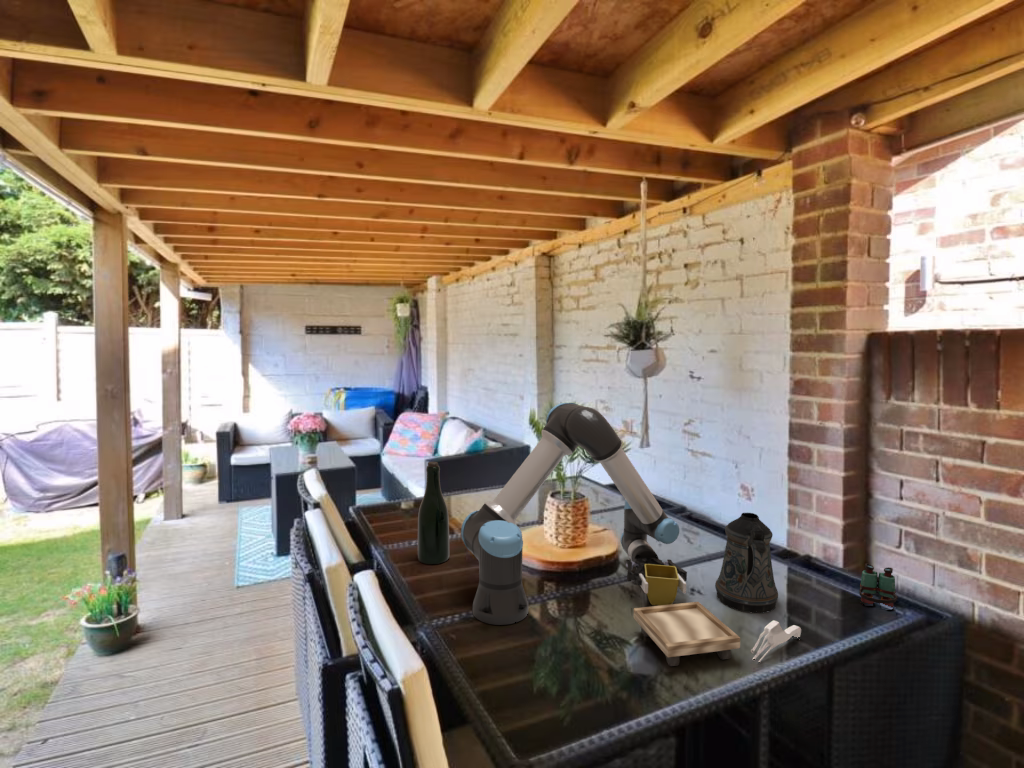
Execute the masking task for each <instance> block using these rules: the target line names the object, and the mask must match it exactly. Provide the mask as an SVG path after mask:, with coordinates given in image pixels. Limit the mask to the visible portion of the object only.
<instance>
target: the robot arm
mask: <svg viewBox="0 0 1024 768" xmlns="http://www.w3.org/2000/svg"><path fill="white" fill-rule="evenodd" d="M546 415H547V416H546V419H545V425H544V427H543V428H542V430H541V436H542V437H541V438H540V440H539V442H538V443H537V444H536V445H535V446H534V448H533V449H532V451H530V453H529V454H528V456H527V457H526V458H525V459H524V461H523V462H522V463H521V465H520V466H519V467H518V468H517V469H516V471H515V472H514V473H513V475H512V476H511V477H510V478H509V480H508V481H507V482H506V483H505V485H504V486H503V487H502V489H501V490H500V492H499V493H497V495H496V497H495V498H494V499H493V500H492V501H486V502H484V504H482V506H481V508H480V509H478V510H474V511H472V512H470V513H469V514H468V515H467V516H465V518H464V520H463V522H462V525H461V528H460V532H461V533H460V535H461V539H462V541H463V543H464V546H465V547H466V549H467V550H468V551H470V552H471V554H472V555H474V556H473V557H475V558H476V560H478V570H479V571H478V575H479V576H478V578H479V581H478V586H477V589H476V593H475V595H474V598H473V602H472V614H473V616H474V618H475V619H477V620H478V621H480V622H482V623H484V624H489V625H494V626H495V625H496V626H500V625H501V626H503V625H504V626H505V625H513V624H515V622H516V623H518V622H521V621H523V620H524V619H525V618H526V617H527V616H528V615H527V614H529V601H528V598H527V595H526V591H525V589H524V584H523V546H524V540H523V539H524V538H523V534H522V530H521V529H520V527H519V526H518V525H517V522H516V521H517V518H518V517H519V516H520V514H521V513H522V512H523V510H525V508H526V506H527V505H528V504H529V503H530V501H531V500H532V499H533V498H534V496H535V495H536V493H537V492H538V491H539V490H540V489H541V487H542V485H543V484H544V483H545V482H546V480H547V479H548V477H550V475H551V474H552V473H553V471H554V470H555V468H557V466H558V465H559V464H560V463H561V461H562V460H563V459H564V457H565V456H570V455H573V453H575V452H576V449H577V448H578V447H580V448H582V449H583V450H585V451H586V452H587V453H588V454H589V455H590V456H591V458H592V459H593V461H594V462H597V463H598V462H599V464H600V465H601V467H602V468H603V469H604V470H605V472H606V473H607V475H608V476H609V478H610V479H611V481H612V482H613V483H614V485H615V487H616V488H617V490H618V491H619V492H620V494H621V495H622V496H623V498H624V499H625V500H624V507H623V532H622V533H621V535H620V543H621V546H622V549H623V550H624V552H625V553H626V554H627V557H629V559H625V569H626V572H627V573H626V574H627V575H626V578H627V579H626V581H628V582H632V581H633V584H634V585H635V586H640V587H641V589H642V591H643V592H644V594H647V593H648V583H647V582H646V580H645V566H644V565H645V564H654V565H665V566H675V567H676V569H677V573H678V577H679V583H678V589H679V590H680V591H681V593H682V594H686V593H687V582H688V581H687V579H688V577H687V576H688V571H686V570H685V569H683V568H682V567H680V566H679V565H677V564H676V563H674V562H673V561H672V559H669V558H668V559H667V560H666V561H663V560H661V559H660V558H659V556H658V554H657V552H656V551H655V550H654V549H653V547H652V546H651V545H650V543H649V542H648V536H649V537H650V538H652V539H654V540H656V542H660V543H662V544H665V545H670V544H673V543H675V541H676V540H677V539H678V537H679V535H680V526H679V524H678V522H677V521H675V520H674V519H672V518H671V517H668V515H667V514H666V512H665V511H664V509H662V508H663V507H661V505H660V504H659V502H658V500H657V499H656V498H655V496H654V495H653V494H652V492H651V490H650V489H649V487H648V486H647V484H646V483H645V481H644V480H643V478H642V477H641V475H640V474H639V472H638V471H637V469H636V467H635V466H634V465H633V463H632V461H631V459H629V457H628V455H627V454H626V453H625V451H624V449H623V448H622V446H623V441H622V440H621V438H620V437H619V435H618V434H617V432H616V431H615V430H614V428H613V426H612V425H611V424H610V422H609V421H608V420H607V419H606V418H605V417H604V416H603V414H602V413H600V412H599V411H598V410H597V409H595V408H592V407H589V406H586V405H585V406H583V405H581V404H580V405H579V404H577V403H575V402H561V403H558V404H556V405H554V406H553V407H552V408H551V409H550V410H549V411H548V414H546ZM634 567H635V568H636V570H635V571H634V573H633V568H634Z"/></svg>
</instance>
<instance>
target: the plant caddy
mask: <svg viewBox="0 0 1024 768" xmlns="http://www.w3.org/2000/svg"><path fill="white" fill-rule="evenodd" d="M633 619H634V620H635V622H636V623H637V624H638V625H639V626H640V629H641V634H642V635H643V636H644V637H649V638H650V639H651V640H652V641H653V642H654V643H655V644H656V646H657V647H658V648H659V649H660V650H661V651H662V652H663V654H664V655H665V659H666V660H665V661H666V662H667V665H668V666H669V667H675V666H679V665H680V657H681V656H690V655H697V654H699V655H700V654H708V653H713V652H716V654H717V656H718V658H719V659H720V660H729V659H731V658H732V650H736V649H740V648H741V637H740V636H739V635H738V634H737V633H736V632H734V630H732V629H731V628H730V627H728V625H727V624H725V623H723V621H721V620H720V618H718V617H717V616H716V615H714V614H713V613H712V612H711V611H710V610H708V608H706V607H705V606H704V605H703V604H702V603H700V601H694V602H693V601H691V602H683V603H682V602H681V603H672V604H671V605H662V606H658V605H652V606H644V607H634V608H633Z"/></svg>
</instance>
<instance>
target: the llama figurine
mask: <svg viewBox="0 0 1024 768" xmlns="http://www.w3.org/2000/svg"><path fill="white" fill-rule="evenodd" d="M801 633H802V629H801V627H800V626H798V625H795V624H793V625H790V626H789V627H787V628H786V629H783V628H782V627H781V623H780V622H779V621H777V620H774V619H773V620H772V621H770V622H769V623H768V624H767V625H766V626H764V628H763V632H761V633H760V634H759V636H758V640H756V642H755V644H754V645H753V647H752V648H750V652H751V654H753V655H754V654H755V655H754V656H753V657H752V661H754V660H753V659H755V660H756V659H757V658H758V656H760V654H762V652H763V651H765V650H766V649H767V648H768V647H769V648H768V650H767V651H766V652H765V653H764V654H763V655H762V657H761V658H760V659H759V660H758V661H757V662H760V663H761V661H763V659H764V658H765V657H766V655H767V654H768V653H769V652H770V651H771V650H772V649H774V648H776V647H777V646H779V645H780V644H783V643H785V642H787V641H788V640H790V639H792V636H794V637H797V638H798V637H801V635H802V634H801ZM762 637H763V640H762V643H761V645H760V647H759V649H758V650H757V651H756V649H757V647H758V646H759V644H760V641H761V639H762ZM766 640H767V641H766ZM755 651H756V653H755Z"/></svg>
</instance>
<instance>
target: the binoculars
mask: <svg viewBox="0 0 1024 768" xmlns="http://www.w3.org/2000/svg"><path fill="white" fill-rule="evenodd" d="M864 564H865V565H864V566H865V567H864V568H865V570H863V571H862V572H861V580H860V583H859V596H860V600H861V601H862V602H864V603H868V604H873V603H874V604H875V603H876V604H880V603H883V604H885V605H888V606H891V607H893V606H894V604H895V602H897V600H898V599H899V597H898V595H896V592H897V591H896V577H895V575H894V574H893V571H894V569H893V567H884V568H883V572H880V571H879V572H877V571H874V569H875V567H874V566H873V565H871V564H870V563H864ZM892 574H893V575H892ZM877 593H878V595H880V596H881V597H880V599H878V598H875V597H874V596H873V595H875V594H877ZM872 597H873V598H872ZM894 607H895V606H894Z"/></svg>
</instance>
